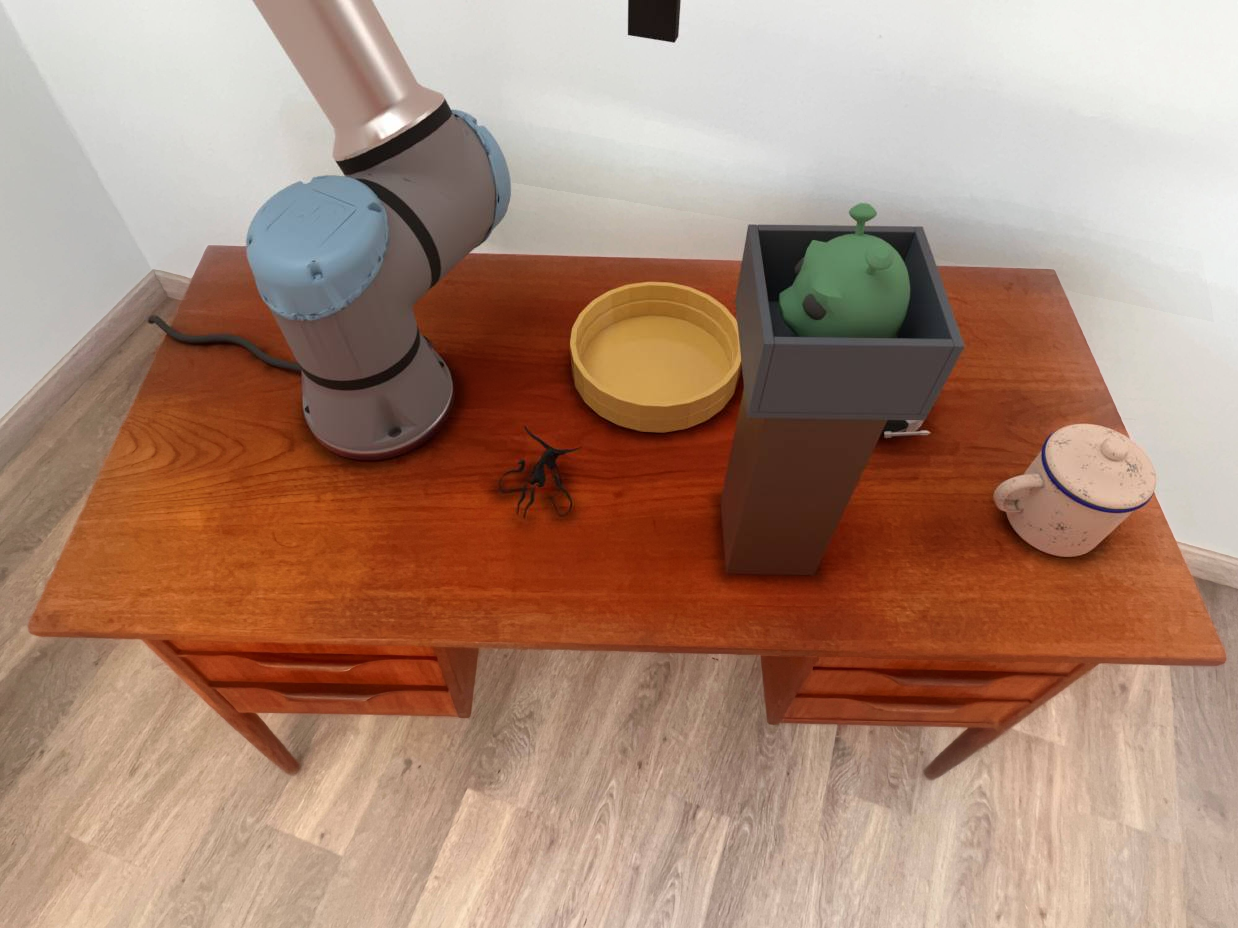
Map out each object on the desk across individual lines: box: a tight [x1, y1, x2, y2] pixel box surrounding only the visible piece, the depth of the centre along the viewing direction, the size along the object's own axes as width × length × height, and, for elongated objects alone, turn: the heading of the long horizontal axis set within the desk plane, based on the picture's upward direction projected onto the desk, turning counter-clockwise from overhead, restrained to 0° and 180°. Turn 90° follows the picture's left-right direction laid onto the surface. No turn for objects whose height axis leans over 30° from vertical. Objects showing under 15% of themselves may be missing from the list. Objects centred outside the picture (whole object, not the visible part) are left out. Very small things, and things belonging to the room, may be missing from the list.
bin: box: [720, 223, 966, 576], centre depth 57 cm, size 11×11×31 cm
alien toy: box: [779, 202, 910, 338], centre depth 45 cm, size 7×8×10 cm
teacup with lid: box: [992, 423, 1157, 558], centre depth 66 cm, size 12×9×12 cm
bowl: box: [569, 281, 742, 434], centre depth 80 cm, size 18×18×4 cm
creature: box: [498, 425, 582, 519], centre depth 70 cm, size 8×5×8 cm
